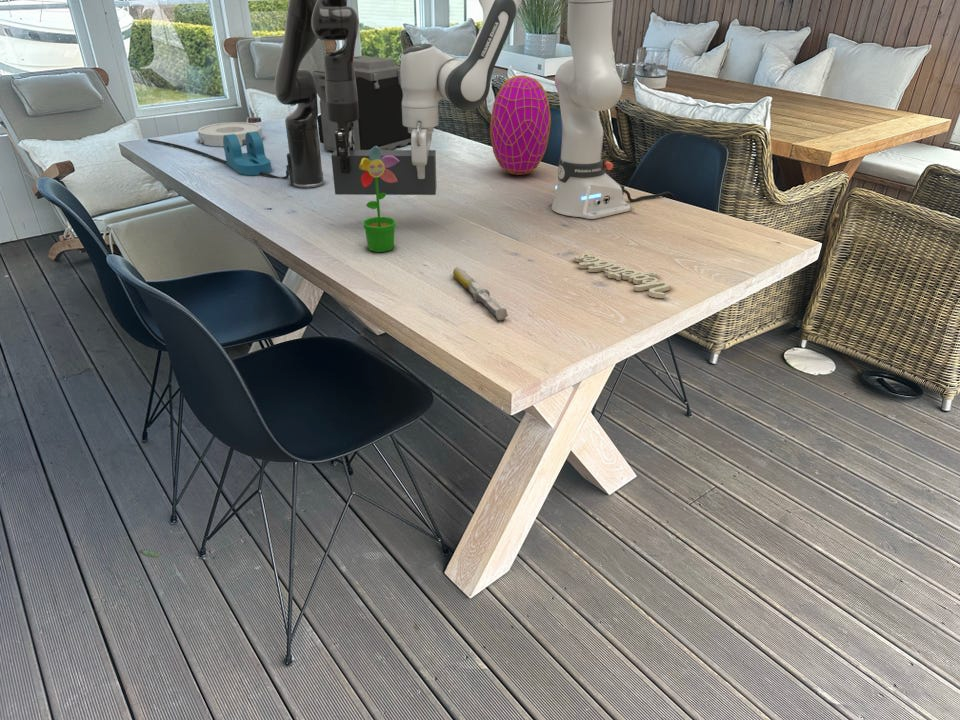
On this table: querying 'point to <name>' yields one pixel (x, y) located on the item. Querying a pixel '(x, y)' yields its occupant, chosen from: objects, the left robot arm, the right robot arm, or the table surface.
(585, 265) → the decorative sign
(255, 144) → the camera mount
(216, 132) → the ashtray
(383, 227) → the potted flower
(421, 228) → the table surface
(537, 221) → the table surface
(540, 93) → the decorative egg
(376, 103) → the cooler
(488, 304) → the syringe
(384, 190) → the box
